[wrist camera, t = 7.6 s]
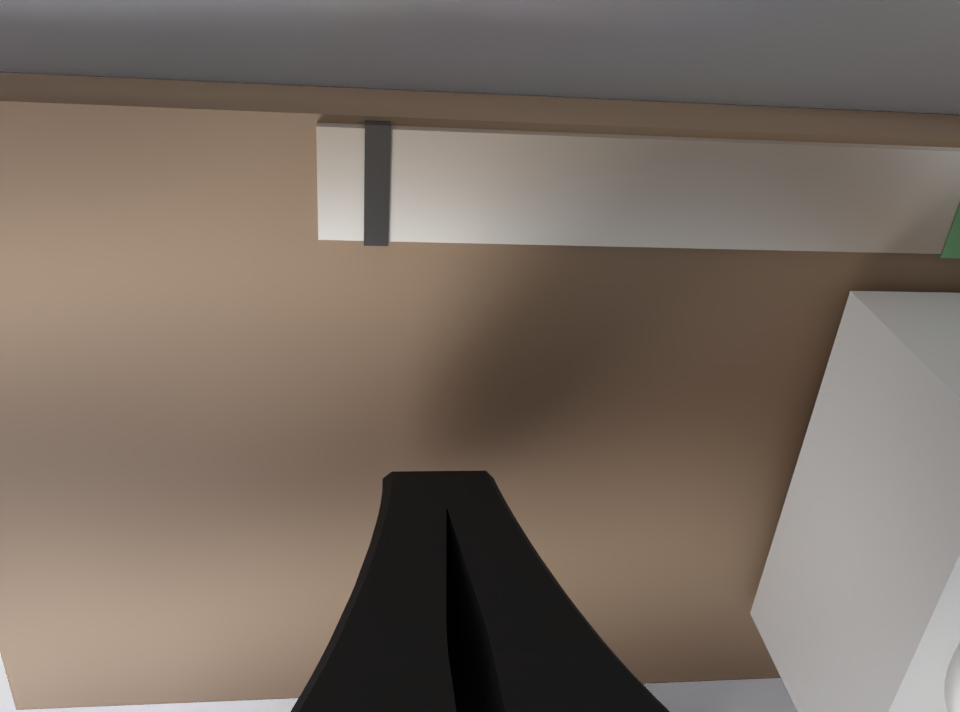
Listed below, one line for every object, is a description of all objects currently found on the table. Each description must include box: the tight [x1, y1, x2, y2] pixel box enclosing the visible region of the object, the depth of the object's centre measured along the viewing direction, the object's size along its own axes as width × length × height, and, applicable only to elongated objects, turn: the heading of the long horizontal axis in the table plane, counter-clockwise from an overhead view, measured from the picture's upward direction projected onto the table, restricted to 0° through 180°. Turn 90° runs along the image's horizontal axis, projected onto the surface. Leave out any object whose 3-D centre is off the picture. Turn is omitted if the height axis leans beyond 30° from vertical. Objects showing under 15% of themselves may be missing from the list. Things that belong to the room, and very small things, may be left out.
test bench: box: [0, 72, 960, 710], centre depth 12 cm, size 10×26×7 cm, turn 86°
